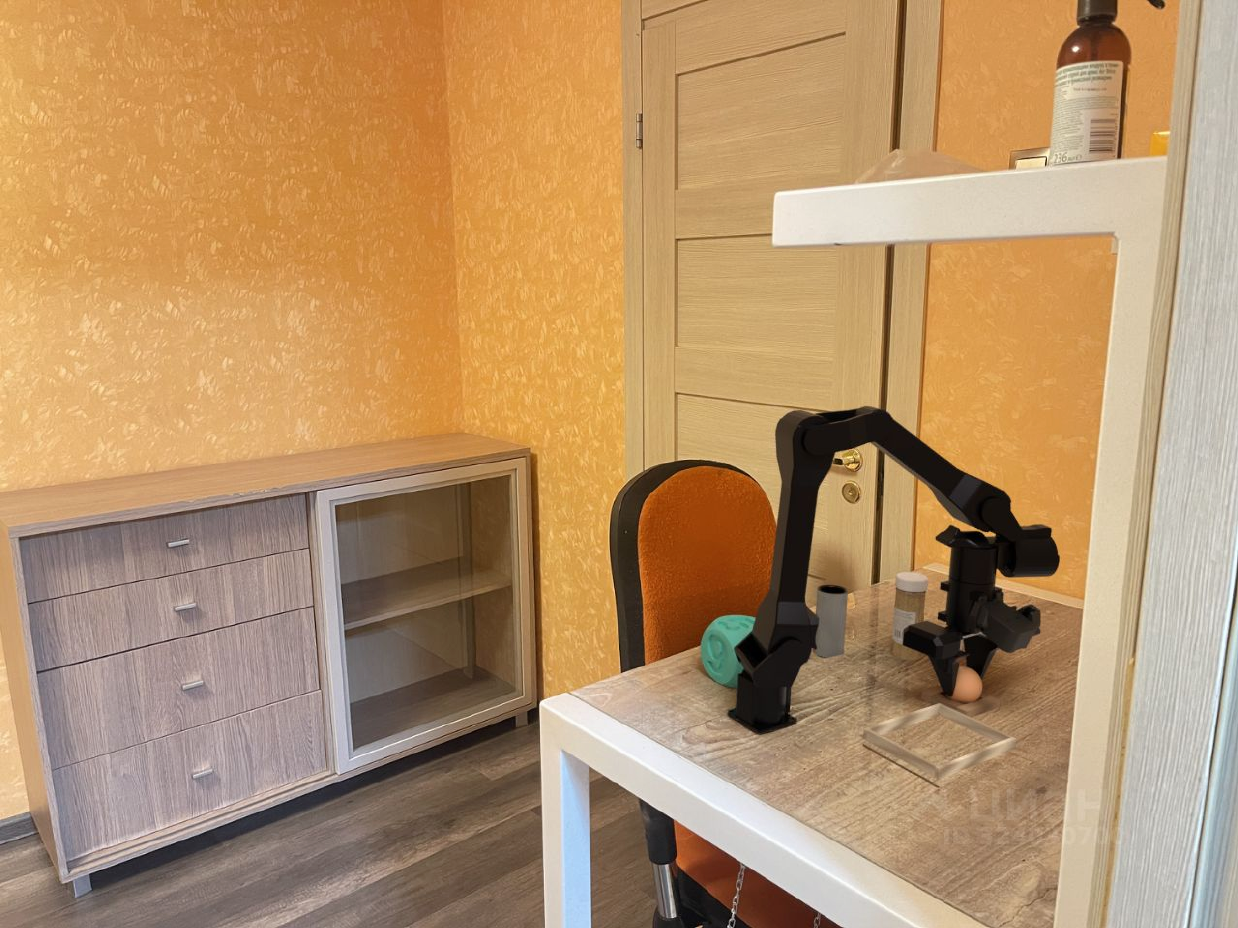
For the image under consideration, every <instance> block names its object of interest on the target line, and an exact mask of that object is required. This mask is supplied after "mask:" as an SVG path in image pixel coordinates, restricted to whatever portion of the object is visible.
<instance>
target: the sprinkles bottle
mask: <svg viewBox="0 0 1238 928" xmlns="http://www.w3.org/2000/svg"><path fill="white" fill-rule="evenodd" d="M928 580H929V578H928V577H927V576H926V575H924V574H922V573H918V572H912V571H904V572H903V571H901V572H899V573H897V574H896V575H895V583H894V584H895V585H894V586H895V597H894V598H895V599H894V608H893V618H892V619H893V620H892V621H893V622H892V633H891V639H892V641H891V642H892V643H891V655H892V656H893V657H894V658H896V659H899V660H903V661H918V660H920V659H921V657H922V653H920V652H918V651H916V650H913V649H911V648H908V647H906V646H903V644H902V641H903V630H904V629H905V628H906V627H908V626H909V625H912V624H916V623H920V622H923V621H924V619H925V604H926V603H925V602H926V593H927V590H928Z"/></svg>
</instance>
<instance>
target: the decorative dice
mask: <svg viewBox="0 0 1238 928" xmlns="http://www.w3.org/2000/svg"><path fill="white" fill-rule="evenodd" d="M755 619H756V616H755V617H754V616H749V615H744V614H729V615H723V616H719V617H716V618H715V619H714V620H713V621H712V622H711V623H710V624H709V625H708V627H707V628H706V629H705V631H704V633H703V636H702V637H701V638H702V639H701V641H700V657H701V661H702V664H703V667H704V669H705V671H706V672H707V675H709V676H710V678H711V679H712V680H714V682H716V683H717V684H719V685H721V684H722V686H724V685H725V687H729V688H733V687H734V688H735V689H737V678H738V674H739V673H742V670H743V669H744V668H743V666H742V665H741V664H740V663H739V662H738V660H737V657H736V654H735V651H734V647H735V646H736V645H737V644H738V643H740V642H741V641H742V640H743V639H744V638H745V637H746V636H747V635H748V634H749V633H750V632H751V631H752V629H753V625H754V622H755ZM734 688H733V689H734Z"/></svg>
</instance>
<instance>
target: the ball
mask: <svg viewBox="0 0 1238 928" xmlns="http://www.w3.org/2000/svg"><path fill="white" fill-rule="evenodd" d="M982 681H983V680H982ZM982 681H981V679H980V677H979V675H978V674H977V673H976V672H975V671H974V670H973V669H971V668H969V667H967V665H959V669H958V674H957V680H956V685H955V689H954V693H953V696H951V697H950V696H947V695H946V696H947V697H948V698H951V699H953V700H955V701H957V702H960V703H962V704H964V705H965V704H967V703H970V702H973V701H976V700H977V699H978V698H979V696H980V695H981V692H983V682H982Z"/></svg>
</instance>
